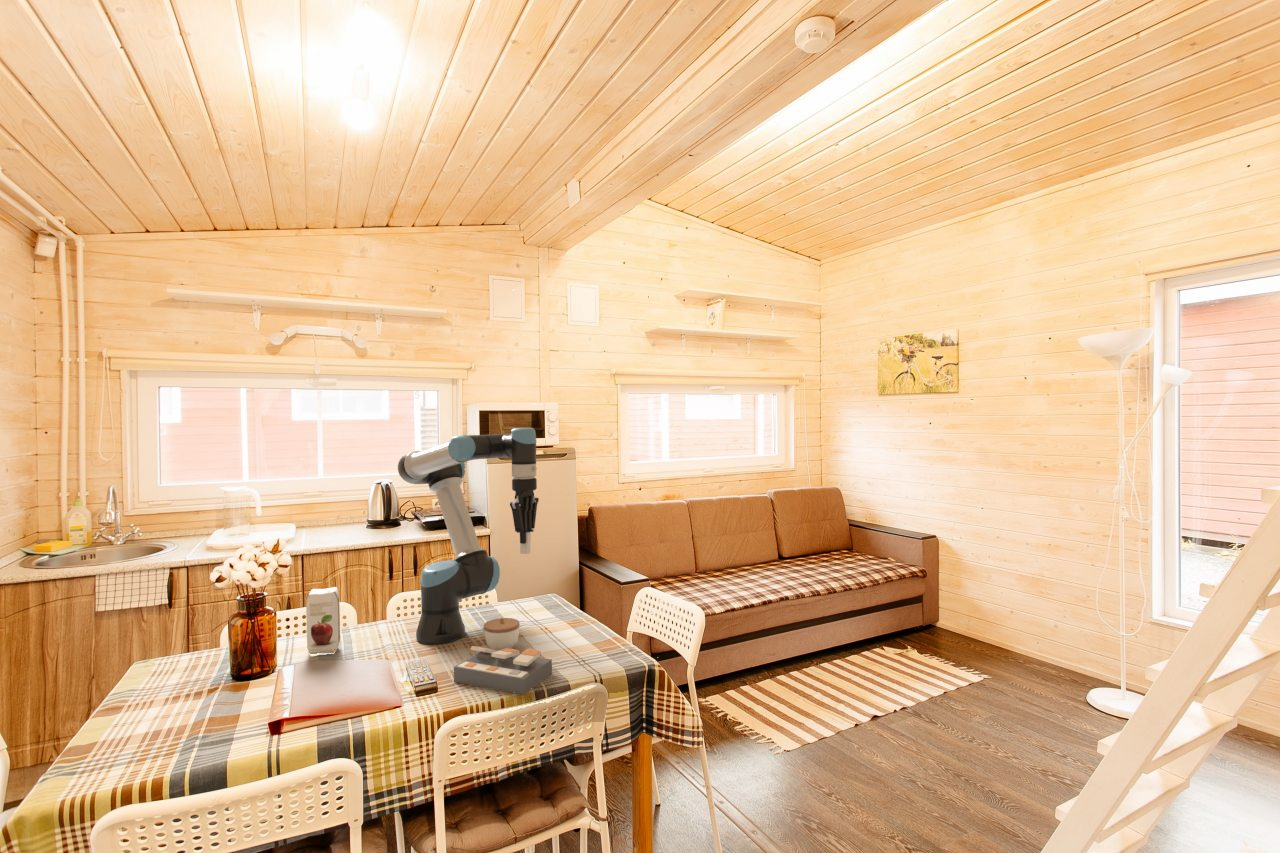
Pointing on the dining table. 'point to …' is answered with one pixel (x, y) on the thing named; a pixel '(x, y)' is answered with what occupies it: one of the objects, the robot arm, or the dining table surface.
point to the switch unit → (502, 673)
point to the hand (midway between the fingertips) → (525, 553)
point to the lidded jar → (501, 633)
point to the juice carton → (323, 620)
